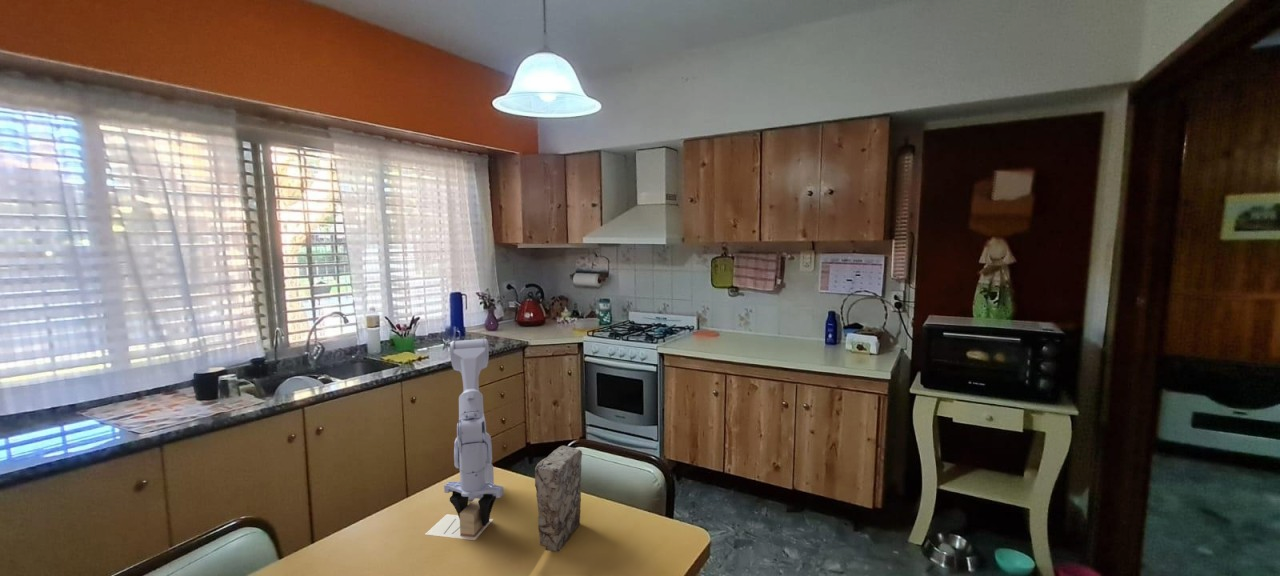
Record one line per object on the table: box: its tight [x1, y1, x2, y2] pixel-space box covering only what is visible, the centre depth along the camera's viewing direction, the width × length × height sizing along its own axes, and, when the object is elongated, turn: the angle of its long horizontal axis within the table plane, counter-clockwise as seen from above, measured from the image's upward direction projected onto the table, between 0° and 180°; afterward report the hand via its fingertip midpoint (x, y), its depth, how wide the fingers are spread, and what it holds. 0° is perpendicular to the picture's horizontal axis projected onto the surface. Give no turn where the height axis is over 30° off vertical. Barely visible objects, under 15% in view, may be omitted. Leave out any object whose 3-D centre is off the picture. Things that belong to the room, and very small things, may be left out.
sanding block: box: [460, 498, 484, 537], centre depth 116 cm, size 7×4×6 cm, turn 169°
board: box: [424, 513, 494, 541], centre depth 117 cm, size 9×13×1 cm
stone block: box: [534, 445, 583, 553], centre depth 114 cm, size 13×7×20 cm, turn 167°
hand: (474, 522), depth 116 cm, fingers open, 5 cm apart
